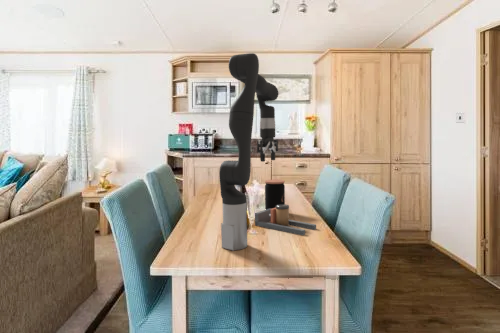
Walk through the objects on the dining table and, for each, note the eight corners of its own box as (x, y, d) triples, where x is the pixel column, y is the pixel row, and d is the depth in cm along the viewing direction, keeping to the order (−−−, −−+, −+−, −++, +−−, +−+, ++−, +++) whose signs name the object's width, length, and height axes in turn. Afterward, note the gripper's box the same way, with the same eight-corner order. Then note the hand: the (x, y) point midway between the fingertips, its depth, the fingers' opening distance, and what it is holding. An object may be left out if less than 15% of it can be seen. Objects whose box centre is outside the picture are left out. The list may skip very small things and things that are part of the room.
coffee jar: (285, 215, 170) (285, 182, 168) (265, 215, 170) (265, 182, 168) (283, 210, 180) (283, 179, 179) (265, 211, 180) (264, 179, 179)
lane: (316, 228, 145) (316, 215, 144) (302, 235, 136) (302, 221, 135) (269, 220, 161) (269, 208, 161) (255, 225, 152) (254, 213, 152)
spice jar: (284, 229, 145) (284, 207, 144) (273, 227, 149) (272, 206, 148) (291, 226, 150) (291, 205, 149) (280, 224, 154) (280, 203, 153)
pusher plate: (281, 223, 154) (281, 206, 153) (272, 226, 148) (272, 209, 148) (274, 221, 157) (273, 205, 156) (265, 224, 151) (265, 208, 150)
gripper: (270, 128, 164) (270, 159, 166) (252, 127, 153) (253, 161, 155) (282, 127, 159) (282, 160, 161) (264, 127, 148) (265, 162, 150)
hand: (268, 160), depth 158 cm, fingers open, 8 cm apart
